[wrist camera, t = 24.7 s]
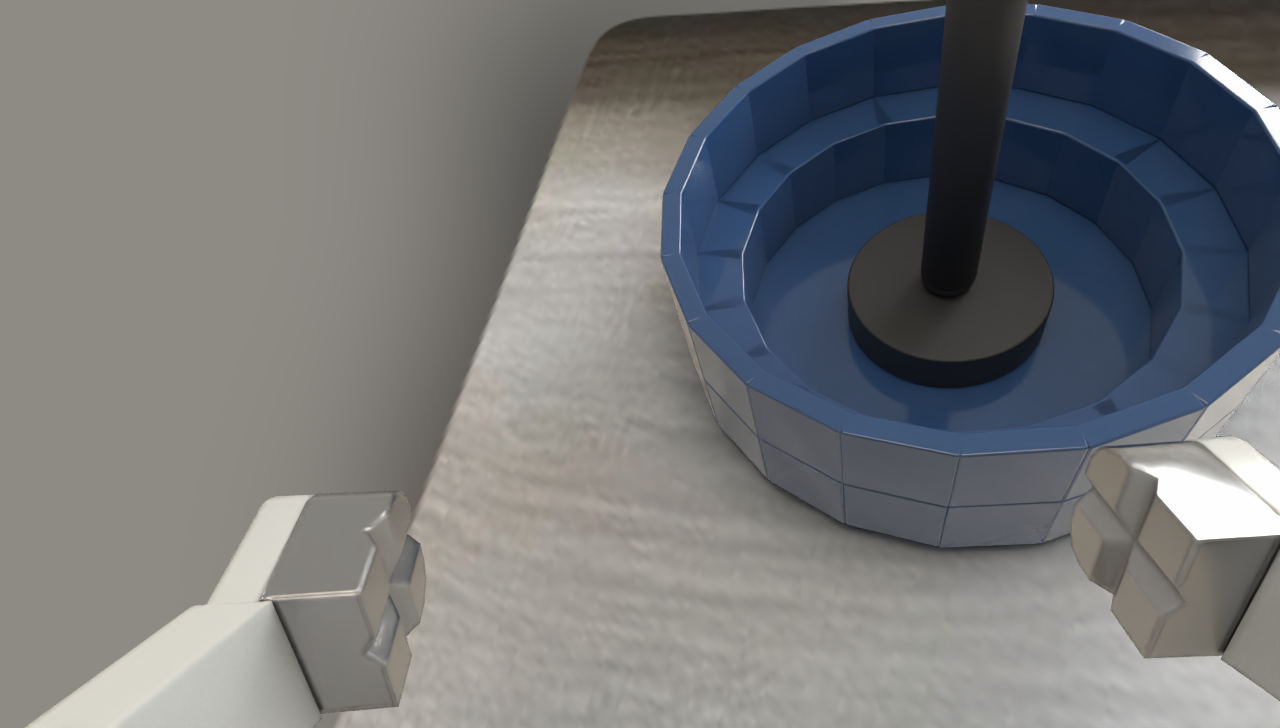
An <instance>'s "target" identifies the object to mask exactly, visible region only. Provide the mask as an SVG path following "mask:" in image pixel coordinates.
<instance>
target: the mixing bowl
mask: <svg viewBox="0 0 1280 728" xmlns="http://www.w3.org/2000/svg"><path fill="white" fill-rule="evenodd" d="M945 13H946V6H940V7H934V8H929V9H923V10H918V11H912V12H907V13H901V14H896V15H890V16H885V17H879V18H874V19H870V21H869V20H866V21H863V22H861V23H858V24H856V25H853V26H850V27H848V28H845V29H842V30H840V31H837V32H834V33H832V34H829V35H827V36H824V37H821V38H819V39H816V40H813V41H811V42H808V43H805V44H803V45H800V46H798V47H797V48H794V49H792V50H791V51H789V52H788V53H786V54H785V55H783V56H781V57H780V58H778V59H777V60H775V61H774V62H772V63H771V64H769V65H767V66H766V67H764V68H763V69H761V70H760V71H758V72H757V73H755V74H753V75H752V76H750V77H749V78H747V79H746V80H744V81H742V82H741V83H739V84H738V85H737V86H736V87H734V88H733V89H732V90H731V91H730V92H729V93H728V95H727V96H726V97H725V98H724V99H723V100H722V101H721V102H720V103H719V104H718V105H717V106H716V107H715V109H714V110H713V111H712V112H711V113H710V114H709V115H708V116H707V117H706V118H705V119H704V120H703V122H702V123H701V124H700V125H699V126H698V127H697V128H696V129H695V130H694V131H693V132H692V133H691V135H690V136H689V137H688V140H687V142H686V144H685V146H684V148H683V151H682V153H681V155H680V157H679V159H678V162H677V164H676V166H675V168H674V170H673V173H672V175H671V177H670V179H669V181H668V184H667V186H666V188H665V190H664V193H663V202H662V229H661V262H662V265H663V268H664V271H665V275H666V278H667V281H668V284H669V287H670V290H671V294H672V297H673V300H674V303H675V306H676V309H677V313H678V316H679V319H680V322H681V325H682V329H683V332H684V335H685V338H686V341H687V344H688V348H689V351H690V354H691V357H692V360H693V363H694V366H695V369H696V371H697V374H698V376H699V379H700V381H701V384H702V386H703V389H704V391H705V394H706V396H707V399H708V401H709V404H710V406H711V409H712V412H713V414H714V417H715V419H716V422H717V423H718V424H719V426H720V427H721V428H722V429H723V430H724V432H725V433H726V434H727V435H728V436H729V437H730V438H731V439H732V440H733V442H734V443H735V444H736V445H737V446H738V447H739V448H740V449H741V450H742V452H743V453H744V454H745V455H746V456H747V457H748V458H749V459H750V460H751V462H752V463H753V464H754V465H755V466H756V467H757V468H758V469H759V470H760V472H761V473H762V474H763V475H764V476H765V477H766V478H767V479H769V480H770V482H772V483H774V484H776V485H777V486H779V487H781V488H783V489H784V490H786V491H788V492H789V493H791V494H793V495H795V496H796V497H798V498H800V499H802V500H803V501H805V502H807V503H809V504H810V505H812V506H814V507H815V508H817V509H819V510H821V511H822V512H824V513H826V514H828V515H829V516H831V517H833V518H834V519H836V520H838V521H840V522H841V523H846V524H847V525H851V526H855V527H859V528H863V529H867V530H872V531H876V532H880V533H884V534H888V535H892V536H896V537H900V538H905V539H909V540H913V541H917V542H921V543H925V544H929V545H933V546H940V547H941V548H942V547H967V546H991V545H1016V544H1040V543H1041V542H1046V541H1049V540H1052V539H1055V538H1058V537H1060V536H1063V535H1066V534H1069V533H1070V526H1069V523H1070V519H1071V516H1072V512H1073V508H1074V504H1075V502H1076V501H1077V500H1078V499H1079V498H1080V497H1082V496H1083V495H1084V494H1085V493H1086V492H1087V491H1089V490H1090V489H1091V488H1092V485H1091V483H1090V482H1089V480H1088V478H1087V477H1086V475H1085V471H1086V468H1087V465H1088V462H1089V459H1090V457H1091V455H1092V454H1093V453H1094V452H1095V451H1096V450H1097V449H1098V448H1099V447H1101V446H1116V445H1130V444H1144V443H1159V442H1173V441H1185V440H1188V439H1200V438H1212V437H1215V436H1216V435H1217V434H1218V432H1219V431H1220V430H1221V429H1222V427H1223V426H1224V425H1225V423H1226V422H1227V421H1228V420H1229V418H1230V417H1231V416H1232V414H1233V413H1234V412H1235V410H1236V409H1237V408H1238V407H1239V405H1240V404H1241V403H1242V401H1243V400H1244V399H1245V398H1246V396H1247V395H1248V394H1249V392H1250V391H1251V390H1252V388H1253V387H1254V386H1255V385H1256V383H1257V382H1258V381H1259V379H1260V378H1261V377H1262V376H1263V374H1264V373H1265V372H1266V370H1267V369H1268V368H1269V366H1270V365H1271V364H1272V363H1273V361H1274V360H1275V359H1276V357H1277V356H1278V355H1279V354H1280V108H1279V107H1276V104H1275V103H1273V102H1272V101H1271V100H1269V99H1268V98H1267V97H1266V96H1264V95H1263V94H1262V93H1260V92H1259V91H1258V90H1256V89H1255V88H1254V87H1252V86H1251V85H1250V84H1248V83H1247V82H1246V81H1244V80H1243V79H1242V78H1240V77H1239V76H1238V75H1236V74H1235V73H1234V72H1232V71H1231V70H1230V69H1228V68H1227V67H1226V66H1224V65H1223V64H1222V63H1221V62H1219V61H1218V60H1217V59H1215V58H1214V57H1213V56H1211V55H1209V54H1208V53H1207V52H1204V51H1202V50H1199V49H1197V48H1194V47H1192V46H1189V45H1187V44H1185V43H1182V42H1180V41H1177V40H1175V39H1172V38H1170V37H1167V36H1165V35H1162V34H1160V33H1157V32H1155V31H1152V30H1150V29H1148V28H1145V27H1143V26H1140V25H1138V24H1135V23H1133V22H1130V21H1128V20H1126V21H1125V20H1123V19H1118V18H1112V17H1107V16H1101V15H1095V14H1090V13H1084V12H1079V11H1073V10H1068V9H1062V8H1056V7H1051V6H1045V5H1037V4H1027V8H1026V13H1025V18H1024V24H1023V29H1022V35H1021V40H1020V45H1019V51H1018V56H1017V61H1016V67H1015V72H1014V77H1013V83H1012V88H1011V94H1010V99H1009V104H1008V110H1007V115H1006V120H1005V126H1004V131H1003V136H1002V142H1001V147H1000V153H999V158H998V163H997V169H996V174H995V179H994V185H993V190H992V196H991V201H990V206H989V212H988V217H990V218H993V219H996V220H999V221H1001V222H1003V223H1005V224H1008V225H1010V226H1012V227H1013V228H1015V229H1017V230H1018V231H1020V232H1021V233H1023V234H1024V235H1025V236H1027V237H1028V238H1029V239H1030V240H1031V241H1032V242H1033V243H1034V244H1035V245H1036V246H1037V247H1038V248H1039V249H1040V251H1041V252H1042V253H1043V255H1044V256H1045V258H1046V260H1047V262H1048V264H1049V266H1050V269H1051V271H1052V274H1053V279H1054V299H1053V303H1052V307H1051V311H1050V314H1049V317H1048V320H1047V323H1046V326H1045V329H1044V332H1043V335H1042V337H1041V339H1040V342H1039V344H1038V345H1037V347H1036V348H1035V350H1034V351H1033V353H1032V354H1031V355H1030V356H1029V357H1028V358H1027V359H1026V360H1025V361H1024V362H1023V363H1022V364H1020V365H1019V366H1018V367H1017V368H1015V369H1014V370H1012V371H1010V372H1009V373H1007V374H1006V375H1003V376H1001V377H999V378H997V379H995V380H992V381H989V382H986V383H983V384H978V385H973V386H968V387H958V388H940V387H932V386H925V385H921V384H917V383H913V382H910V381H907V380H904V379H901V378H899V377H897V376H895V375H893V374H891V373H889V372H888V371H886V370H884V369H883V368H881V367H880V366H878V365H877V364H876V363H875V362H874V361H872V360H871V359H870V358H869V357H868V356H867V355H866V354H865V353H864V352H863V350H862V349H861V347H860V346H859V345H858V343H857V342H856V340H855V338H854V336H853V334H852V331H851V328H850V325H849V318H848V295H847V284H848V275H849V271H850V268H851V265H852V263H853V260H854V259H855V257H856V255H857V253H858V252H859V251H860V249H861V248H862V247H863V246H864V244H865V243H866V242H867V241H868V240H869V239H870V238H872V237H873V236H874V235H875V234H877V233H878V232H879V231H881V230H882V229H884V228H886V227H887V226H889V225H891V224H893V223H895V222H898V221H900V220H902V219H905V218H908V217H911V216H915V215H920V214H924V213H926V212H927V201H928V191H929V180H930V170H931V159H932V149H933V138H934V128H935V117H936V107H937V96H938V86H939V75H940V65H941V54H942V44H943V34H944V23H945Z"/></svg>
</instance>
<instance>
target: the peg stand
mask: <svg viewBox="0 0 1280 728" xmlns="http://www.w3.org/2000/svg"><path fill="white" fill-rule="evenodd" d="M1027 2H1028V0H947V2H946V13H945V23H944V34H943V44H942V54H941V65H940V75H939V86H938V96H937V107H936V117H935V128H934V138H933V149H932V159H931V170H930V180H929V191H928V201H927V212H926V213H924V214H920V215H915V216H911V217H908V218H905V219H902V220H900V221H898V222H895V223H893V224H891V225H889V226H887V227H886V228H884V229H882V230H881V231H879V232H878V233H877V234H875V235H874V236H873V237H872V238H870V239H869V240H868V241H867V242H866V243H865V244H864V246H863V247H862V248H861V249H860V251H859V252H858V253H857V255H856V257H855V259H854V260H853V263H852V265H851V268H850V271H849V275H848V284H847V295H848V318H849V325H850V328H851V331H852V334H853V336H854V338H855V340H856V342H857V343H858V345H859V346H860V347H861V349H862V350H863V352H864V353H865V354H866V355H867V356H868V357H869V358H870V359H871V360H872V361H874V362H875V363H876V364H877V365H878V366H880V367H881V368H883V369H884V370H886V371H888V372H889V373H891V374H893V375H895V376H897V377H899V378H901V379H904V380H907V381H910V382H913V383H917V384H921V385H925V386H932V387H940V388H958V387H968V386H973V385H978V384H983V383H986V382H989V381H992V380H995V379H997V378H999V377H1001V376H1003V375H1006V374H1007V373H1009V372H1010V371H1012V370H1014V369H1015V368H1017V367H1018V366H1019V365H1020V364H1022V363H1023V362H1024V361H1025V360H1026V359H1027V358H1028V357H1029V356H1030V355H1031V354H1032V353H1033V351H1034V350H1035V348H1036V347H1037V345H1038V344H1039V342H1040V339H1041V337H1042V335H1043V332H1044V329H1045V326H1046V323H1047V320H1048V317H1049V314H1050V311H1051V307H1052V303H1053V299H1054V279H1053V274H1052V271H1051V269H1050V266H1049V264H1048V262H1047V260H1046V258H1045V256H1044V255H1043V253H1042V252H1041V251H1040V249H1039V248H1038V247H1037V246H1036V245H1035V244H1034V243H1033V242H1032V241H1031V240H1030V239H1029V238H1028V237H1027V236H1025V235H1024V234H1023V233H1021V232H1020V231H1018V230H1017V229H1015V228H1013V227H1012V226H1010V225H1008V224H1005V223H1003V222H1001V221H999V220H996V219H993V218H990V217H988V212H989V206H990V201H991V196H992V190H993V185H994V179H995V174H996V169H997V163H998V158H999V153H1000V147H1001V142H1002V136H1003V131H1004V126H1005V120H1006V115H1007V110H1008V104H1009V99H1010V94H1011V88H1012V83H1013V77H1014V72H1015V67H1016V61H1017V56H1018V51H1019V45H1020V40H1021V35H1022V29H1023V24H1024V18H1025V13H1026V8H1027Z"/></svg>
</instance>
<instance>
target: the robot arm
mask: <svg viewBox="0 0 1280 728" xmlns="http://www.w3.org/2000/svg"><path fill="white" fill-rule="evenodd" d="M1085 475H1086V477H1087V478H1088V480H1089V482H1090V483H1091V485H1092V488H1091V489H1090V490H1089V491H1087V492H1086V493H1085V494H1084V495H1083V496H1082V497H1080V498H1079V499H1078V500H1077V501H1076V502H1075V504H1074V508H1073V512H1072V516H1071V519H1070V523H1069V526H1070V535H1071V545H1072V548H1073V551H1074V553H1075V556H1076V558H1077V561H1078V563H1079V565H1080V566H1081V568H1082V569H1083V571H1084V572H1085V574H1086V575H1087V577H1088V578H1089V580H1090V581H1092V582H1094V583H1095V584H1097V585H1099V586H1100V587H1102V588H1104V589H1105V590H1107V591H1109V592H1110V593H1112V594H1113V599H1112V605H1111V612H1112V613H1113V615H1114V616H1115V617H1116V619H1117V620H1118V622H1119V623H1120V625H1121V626H1122V627H1123V629H1124V630H1125V632H1126V633H1127V635H1128V636H1129V637H1130V639H1131V640H1132V642H1133V643H1134V645H1135V646H1136V647H1137V649H1138V650H1139V652H1140V653H1141V655H1142V656H1143V657H1144V658H1167V657H1194V656H1221V655H1223V656H1222V658H1221V660H1223V661H1224V662H1226V663H1227V664H1228V665H1230V666H1231V667H1233V668H1234V669H1235V670H1237V671H1238V672H1240V673H1241V674H1242V675H1244V676H1245V677H1247V678H1248V679H1249V680H1251V681H1252V682H1254V683H1255V684H1257V685H1258V686H1259V687H1261V688H1262V689H1264V690H1265V691H1266V692H1268V693H1269V694H1271V695H1272V696H1273V697H1275V698H1276V699H1278V700H1279V701H1280V470H1279V469H1277V468H1276V467H1275V466H1274V465H1273V464H1272V463H1271V462H1269V461H1268V460H1267V459H1266V458H1265V457H1264V456H1262V455H1261V454H1260V453H1259V452H1258V451H1257V450H1256V449H1254V448H1253V447H1252V446H1251V445H1250V444H1249V443H1248V442H1245V441H1243V440H1241V439H1238V438H1235V437H1233V436H1224V437H1212V438H1200V439H1188V440H1185V441H1173V442H1159V443H1144V444H1130V445H1116V446H1101V447H1099V448H1098V449H1097V450H1096V451H1095V452H1094V453H1093V454H1092V455H1091V457H1090V459H1089V462H1088V465H1087V468H1086V471H1085ZM411 519H412V513H411V510H410V507H409V504H408V501H407V498H406V495H405V494H403V493H402V492H400V491H381V492H380V491H378V492H353V493H329V494H315V495H301V496H300V495H297V496H276V497H272V498H270V499H269V500H267V501H266V502H264V503H263V504H262V505H261V507H260V509H259V511H258V512H257V514H256V516H255V518H254V520H253V521H252V523H251V525H250V527H249V529H248V530H247V532H246V534H245V536H244V537H243V539H242V541H241V543H240V545H239V547H238V548H237V550H236V552H235V554H234V555H233V557H232V560H231V561H230V563H229V564H228V566H227V568H226V570H225V572H224V573H223V575H222V577H221V579H220V581H219V582H218V584H217V586H216V588H215V590H214V591H213V593H212V595H211V597H210V599H209V601H208V602H207V604H206V605H201V606H192V607H190V608H189V609H187V610H186V611H185V612H183V613H182V614H181V615H179V616H178V617H176V618H175V619H174V620H172V621H171V622H169V623H168V624H167V625H165V626H164V627H163V628H161V629H160V630H159V631H157V632H156V633H154V634H153V635H152V636H150V637H149V638H147V639H146V640H145V641H143V642H142V643H141V644H139V645H138V646H136V647H135V648H134V649H132V650H131V651H129V652H128V653H127V654H125V655H124V656H123V657H121V658H120V659H118V660H117V661H116V662H114V663H113V664H112V665H110V666H109V667H107V668H106V669H105V670H103V671H102V672H100V673H99V674H98V675H96V676H95V677H94V678H92V679H91V680H90V681H88V682H87V683H85V684H84V685H83V686H81V687H80V688H78V689H77V690H76V691H75V692H73V693H71V694H70V695H69V696H68V697H66V698H65V699H63V700H62V701H60V702H59V703H58V704H56V705H55V706H54V707H52V708H51V709H49V710H48V711H47V712H45V713H44V714H42V715H41V716H40V717H38V718H37V719H36V720H34V721H33V722H31V723H30V724H29V725H27V726H26V727H25V728H314V727H315V726H316V725H317V724H318V722H319V721H320V720H321V719H322V715H321V714H324V713H334V712H345V711H356V710H367V709H377V708H388V707H399V703H400V699H401V695H402V692H403V688H404V684H405V680H406V676H407V672H408V668H409V664H410V660H411V656H412V654H411V651H410V648H409V644H408V641H407V638H406V636H407V635H408V634H409V633H410V632H411V631H412V630H413V629H414V628H415V627H416V626H417V625H418V624H419V623H420V620H421V616H422V611H423V607H424V603H425V587H426V573H425V563H424V557H423V553H422V549H421V546H420V543H418V542H417V541H416V540H415V539H413V538H412V537H411V536H409V535H408V534H407V533H408V529H409V526H410V523H411Z"/></svg>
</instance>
